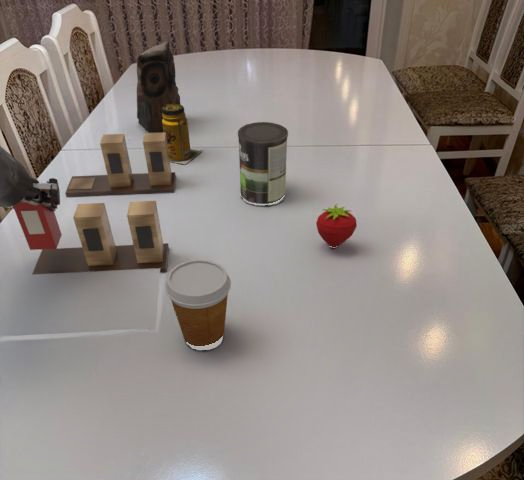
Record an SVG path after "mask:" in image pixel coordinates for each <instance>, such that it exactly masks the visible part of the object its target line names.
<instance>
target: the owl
mask: <svg viewBox="0 0 524 480" xmlns="http://www.w3.org/2000/svg"><path fill="white" fill-rule="evenodd" d="M136 77H137V78H136V79H137V81H136V118H137V120H138V121H137V123H138V124H139V125H140V126H141V127H142V128H143V129H144V130H145V131H146V132H147V133H162V132H164V131H163V125H162V120H163V113H162V108H163V107H164V106H165V105H168V104H180V105H182V104H181V96H180V94H179V87H178V86H177V82H176V77H177V76H176V66H175V58H174V56H173V53H172V50H171V48H170V41H169V40H166V41H165V42H162V43H160V44H157V45H154V46H152V47H151V48H148V49H146V50H144V51H143V52H142V53H139V54H138V55H137V57H136Z"/></svg>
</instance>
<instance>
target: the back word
mask: <svg viewBox="0 0 524 480" xmlns="http://www.w3.org/2000/svg"><path fill="white" fill-rule="evenodd" d="M125 135H126V134H125V133H111V134H102V137H101V139H100V142H99V145H100V150H101V154H102V158H103V161H104V162H103V163H104V165H105V171H106V174H98V175H97V174H95V175H72V176H71V179H70V180H69V183H68V185H67V188H66V191H65V197H66V198H74V197H75V198H76V197H97V196H98V197H99V196H100V197H101V196H121V195H124V196H125V195H144V194H145V195H146V194H147V195H149V194H172V193H175V187H176V177H177V176H176V175H177V174H176V171H172V166H171V162H170V159H169V152H168V145H167V138H166V132H162V133H149V132H144V134H143V140H142V145H143V150H144V158H145V162H146V168H147V172H146V173H145V172H144V173H133V171H132V166H131V161H130V156H129V155H130V154H129V150H128V146H127V141H126V136H125Z"/></svg>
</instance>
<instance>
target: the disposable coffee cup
mask: <svg viewBox="0 0 524 480" xmlns="http://www.w3.org/2000/svg"><path fill="white" fill-rule="evenodd" d="M231 287H232V281H231V278H230V276H229V274H228V272H227V271H226V268H225V267H223V266H222V265H221V264H220V263H218V262H215V261H213V260H208V259H191V260H186V261H184V262H180V263H178V264H177V265H175V266H174V267H172V269H171V270H169V272H168V273H167V276H166V280H165V282H164V291H165V294H166V296H167V297H168V298H169V299H170V301H171V305H172V307H173V311H174V313H175V316H176V319H177V322H178V325H179V328H180V330H181V334H182V337H183V339H185V340H184V342H185V341H186V342H188V343H189V344H191V345H194V346H205V345H209V344H212V343H215V342H216V341H218V340H219V339H220V338H221V337H222V336H223V334H224V335H225V329H226V328H225V327H226V320H227V319H226V316H227V305H228V297H229V295H228V294H229V293H230V289H231Z"/></svg>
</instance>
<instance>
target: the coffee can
mask: <svg viewBox="0 0 524 480" xmlns="http://www.w3.org/2000/svg"><path fill="white" fill-rule="evenodd" d="M288 137H289V130H288V129H287V128H286V127H285V126H284V125H281V124H279V123H275V122H269V121H257V122H251V123H248V124H247V123H246V124H245V125H242V126H241V127H240V128H239V129H238V131H237V138H238V155H239V156H238V159H239V160H238V161H239V185H240V186H239V187H240V190H239V191H240V193H241V196H242V197H243V198H244V199H245V200H246V201H248V202H251V203H256V204H269V203H273V202H276V201H278V200H280V199H281V198H282V197H283V196H284V195H285V194H286V183H287V153H288ZM241 196H240V199H241V200H242V198H241ZM284 200H285V198H284V199H283V200H282V201H281V202H279V203H277V204H273V205H268V206H267V207H272V206H275V205H278V204H280V203H283V201H284ZM242 201H243V202H244V203H245V204H248V205H251V206H254V207H258V206H257V205H252V204H249V203H247V202H245V201H244V200H242Z"/></svg>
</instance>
